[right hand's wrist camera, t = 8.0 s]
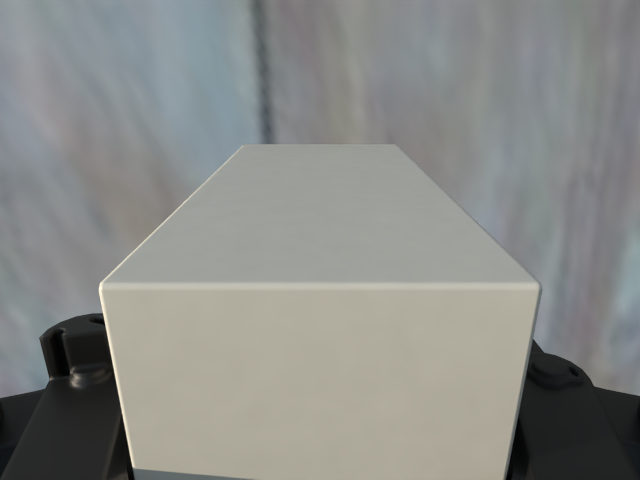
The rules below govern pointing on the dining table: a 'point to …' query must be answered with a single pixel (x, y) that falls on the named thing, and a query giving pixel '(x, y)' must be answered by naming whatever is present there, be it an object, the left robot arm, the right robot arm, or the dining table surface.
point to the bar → (320, 326)
